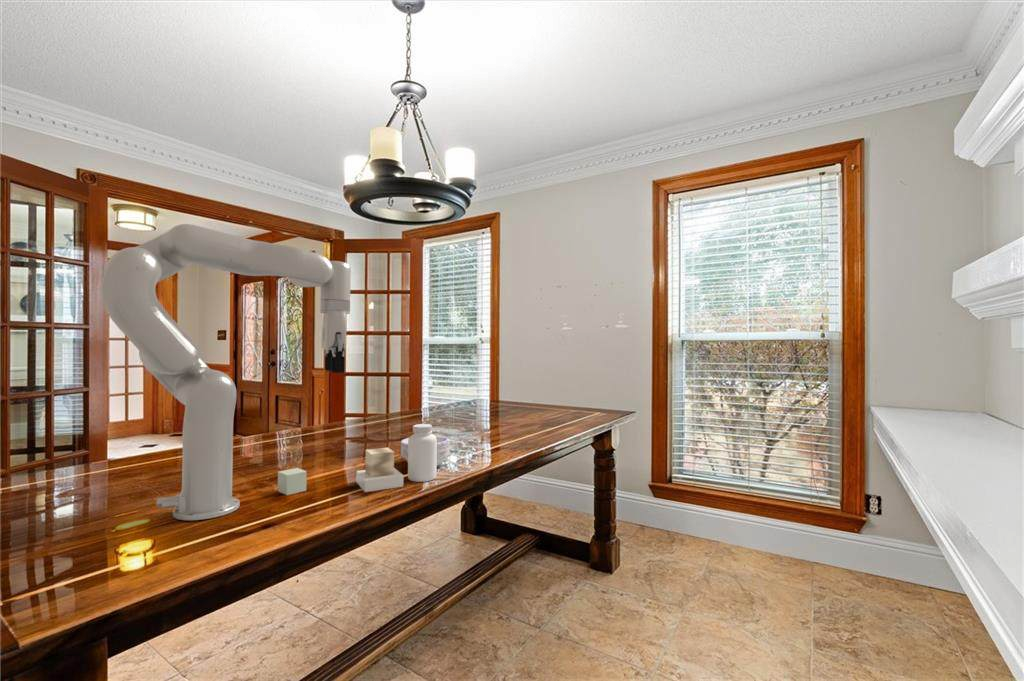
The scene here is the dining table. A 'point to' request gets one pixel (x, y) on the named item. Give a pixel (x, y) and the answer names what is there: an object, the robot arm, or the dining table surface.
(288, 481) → the sage cube
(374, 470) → the maple cube
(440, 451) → the paper bowls
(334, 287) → the robot arm
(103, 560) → the dining table surface
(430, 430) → the pill bottle
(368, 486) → the plinth
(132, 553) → the dining table surface
